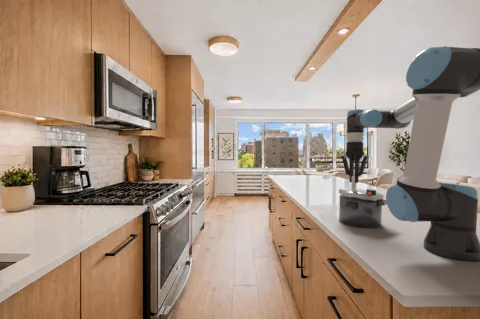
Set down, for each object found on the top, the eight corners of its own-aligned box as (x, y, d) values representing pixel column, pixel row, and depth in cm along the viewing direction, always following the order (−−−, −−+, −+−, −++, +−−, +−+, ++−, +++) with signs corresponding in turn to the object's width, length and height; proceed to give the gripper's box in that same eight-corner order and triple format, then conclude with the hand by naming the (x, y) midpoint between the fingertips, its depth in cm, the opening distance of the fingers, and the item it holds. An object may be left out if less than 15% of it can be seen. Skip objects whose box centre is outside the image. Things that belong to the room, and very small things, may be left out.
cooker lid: (376, 202, 103) (377, 194, 102) (332, 193, 116) (333, 186, 115) (388, 197, 116) (389, 190, 116) (347, 189, 129) (348, 183, 129)
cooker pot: (377, 233, 100) (378, 204, 100) (330, 223, 114) (330, 197, 114) (391, 222, 117) (392, 197, 117) (349, 214, 131) (350, 192, 131)
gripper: (371, 141, 118) (370, 190, 119) (344, 142, 128) (343, 187, 128) (366, 141, 113) (365, 191, 114) (338, 141, 122) (337, 188, 123)
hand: (353, 189), depth 121 cm, fingers closed
